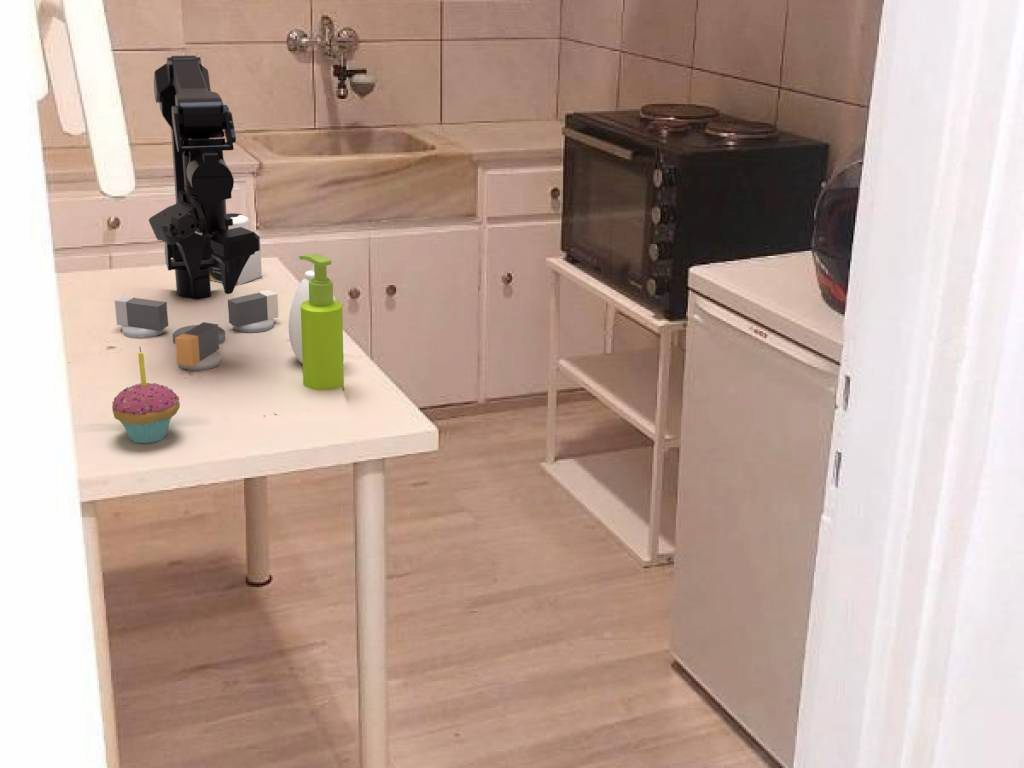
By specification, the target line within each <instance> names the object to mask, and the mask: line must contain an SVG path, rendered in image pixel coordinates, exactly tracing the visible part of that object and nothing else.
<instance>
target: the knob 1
mask: <svg viewBox="0 0 1024 768" xmlns="http://www.w3.org/2000/svg"><path fill="white" fill-rule="evenodd" d="M197 325H198V326H196V327H194V328H193V329H191V330H189V331H187V332H186V333H184V334H183V333H182V334H181V335H179V336H177V337H176V338H175V344H174V345H175V355H176V356H175V357H176V364H177V366H178V367H179V368H181V369H183V370H188V371H205V370H210V369H213V368H216V367H218V366H219V365H220V364H221V363H222V355H221V352H219V350H220V344H219V333H218V327H219V324H217V323H212V322H211V323H210V322H205V321H203V322H201V323H199V324H197Z"/></svg>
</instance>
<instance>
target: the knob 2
mask: <svg viewBox="0 0 1024 768" xmlns="http://www.w3.org/2000/svg"><path fill="white" fill-rule="evenodd" d="M278 300H279V298H278V293H277V292H275V291H272V290H270V289H267V290H266V289H265V290H261V291H258V292H255V293H252V294H247V295H246V294H245V295H242V296H238V297H233V298H230V299H229V298H228V299H227V309H228V312H227V313H228V323H229V324H230V325H232V326H233V329H234V330H235V331H238V332H241V333H250V334H251V333H262V332H264V333H265V332H267V331H270V330H271V329H273V328H274V326H275V321H274V319H278V318H279V303H278V302H279V301H278Z"/></svg>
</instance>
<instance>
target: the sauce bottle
mask: <svg viewBox="0 0 1024 768" xmlns="http://www.w3.org/2000/svg"><path fill="white" fill-rule="evenodd" d="M313 278H315V275H314V263H312V262H311V270H307V271H305V273H304V278H303V279H302V281H301V282H300V283H299V285H298V286H297V288H296V291H295V293H294V296H293V299H292V302H291V306H290V310H289V317H288V337H289V341H290V346H291V349H292V351H293V353H294V355H295V356H296V359H297V360H298V361H299V363H301V364H303V362H302V334H301V304H302V303H303V302H305V301H307V300H309V281H310V280H311V279H313ZM333 300H337V299H336V297H335V295H334V293H333Z"/></svg>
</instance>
